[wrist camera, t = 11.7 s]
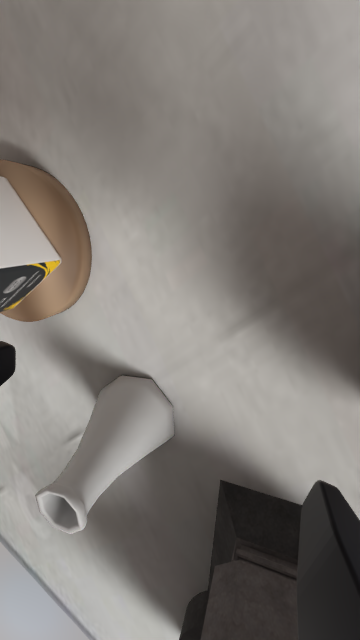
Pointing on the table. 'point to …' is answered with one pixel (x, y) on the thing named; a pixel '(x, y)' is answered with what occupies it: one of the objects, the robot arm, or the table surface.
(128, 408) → the flask
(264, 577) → the juicer
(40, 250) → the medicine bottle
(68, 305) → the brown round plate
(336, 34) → the table surface
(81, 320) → the table surface
